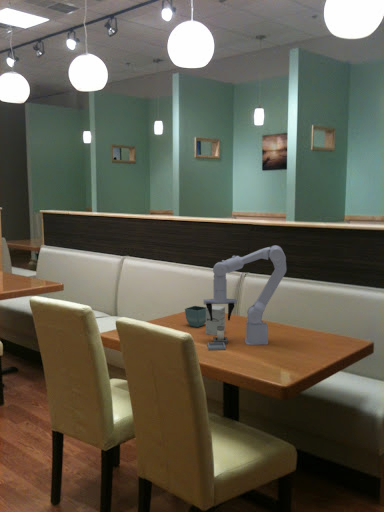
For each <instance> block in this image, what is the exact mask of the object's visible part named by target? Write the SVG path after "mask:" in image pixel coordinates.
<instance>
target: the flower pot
mask: <svg viewBox="0 0 384 512" xmlns="http://www.w3.org/2000/svg"><path fill="white" fill-rule="evenodd" d="M206 308H207V307H206V306H201V305H200V306H199V305H198V306H197V305H194V306H193V305H192V306H190V307H186V308H184V314H185V319H186V321H187V323H188V326H190V327H196V328H199V327H202V326H204V325H206Z"/></svg>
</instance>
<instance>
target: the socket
mask: <svg viewBox="0 0 384 512" xmlns="http://www.w3.org/2000/svg"><path fill="white" fill-rule="evenodd" d="M212 340H213V342H212V343H217V342H224V344H225V346H226V345H229V340H228V337H227V336H224V340H217V336H213V339H212Z"/></svg>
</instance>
